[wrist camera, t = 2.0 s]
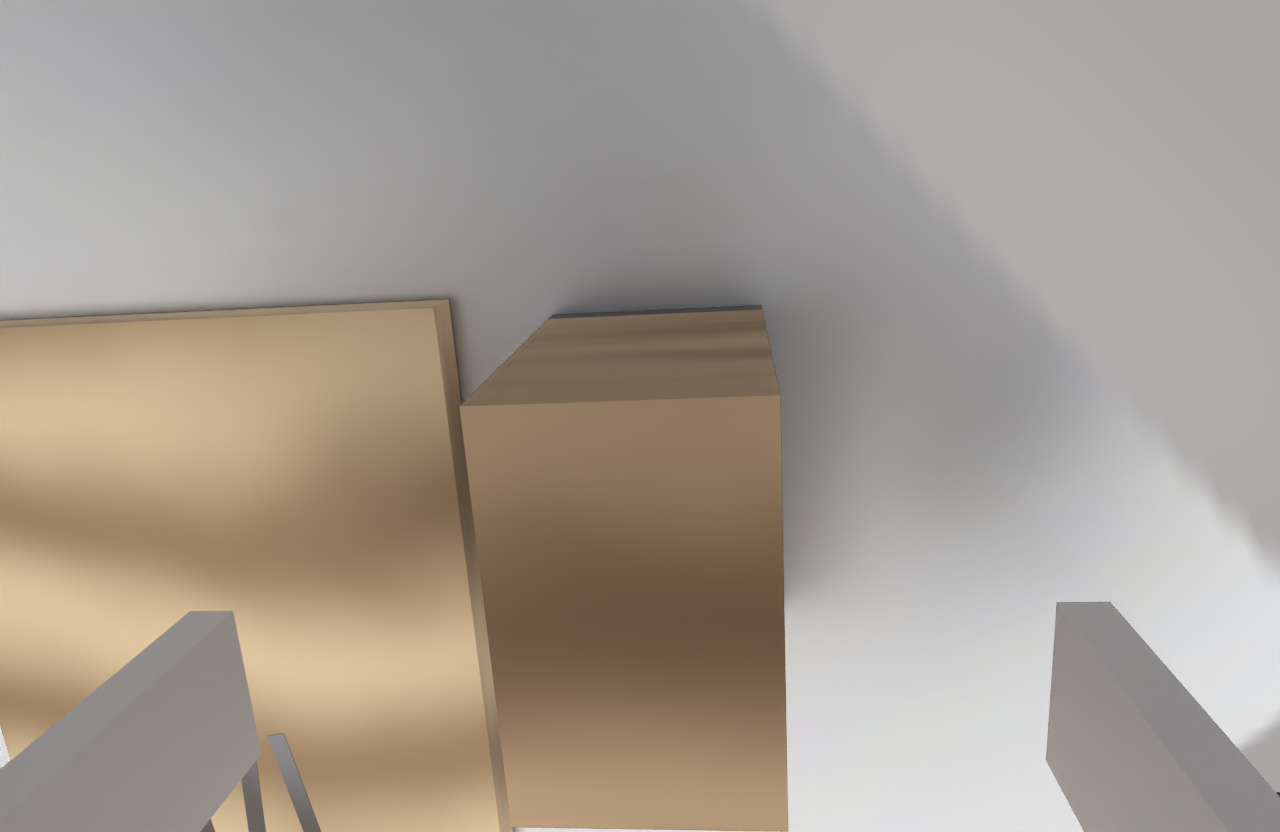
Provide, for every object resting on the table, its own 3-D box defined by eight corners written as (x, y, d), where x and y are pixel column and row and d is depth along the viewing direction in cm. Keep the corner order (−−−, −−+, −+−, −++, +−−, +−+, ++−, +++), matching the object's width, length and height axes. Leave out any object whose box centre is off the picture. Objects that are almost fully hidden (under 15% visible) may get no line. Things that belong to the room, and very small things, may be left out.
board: (-78, 324, 23) (-120, 333, 22) (448, 299, 22) (432, 307, 21) (121, 1010, 30) (96, 1045, 29) (537, 1026, 28) (529, 1064, 27)
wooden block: (552, 314, 22) (458, 406, 14) (761, 304, 21) (780, 395, 14) (579, 610, 24) (511, 827, 16) (768, 608, 24) (788, 831, 16)
